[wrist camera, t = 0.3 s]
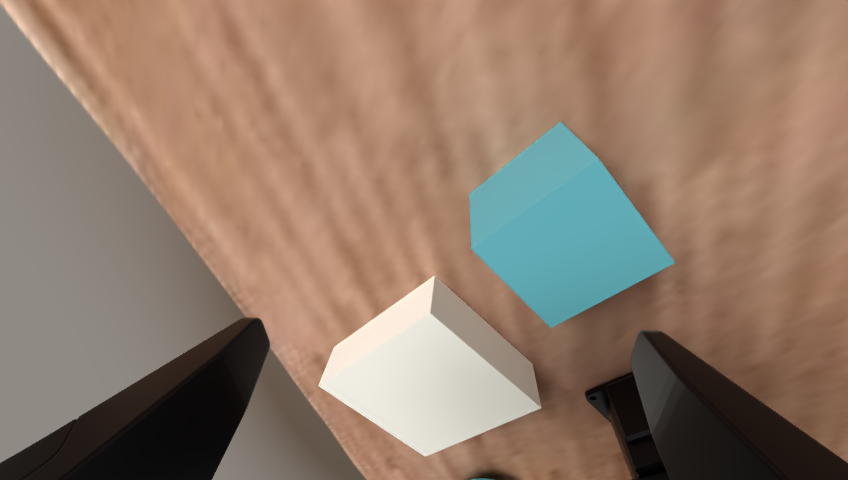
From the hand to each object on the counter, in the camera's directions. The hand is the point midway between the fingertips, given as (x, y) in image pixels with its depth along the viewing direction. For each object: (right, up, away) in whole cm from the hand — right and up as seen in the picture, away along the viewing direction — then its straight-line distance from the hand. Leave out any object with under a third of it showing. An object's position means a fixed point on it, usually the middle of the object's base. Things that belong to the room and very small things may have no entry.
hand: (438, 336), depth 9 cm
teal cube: (+6, +5, +12) cm, 14 cm away
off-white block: (0, -6, +19) cm, 21 cm away
